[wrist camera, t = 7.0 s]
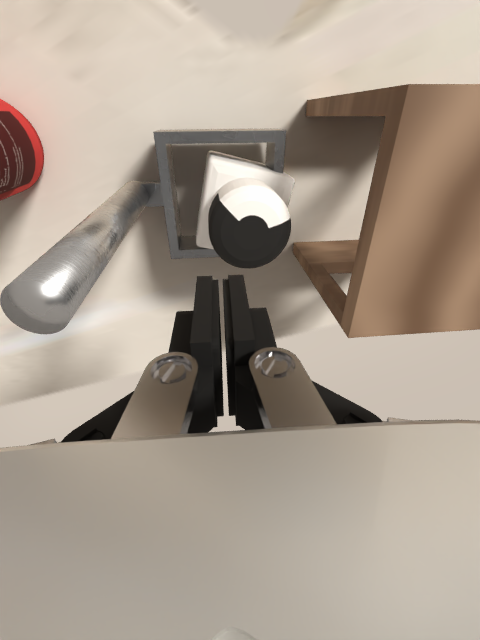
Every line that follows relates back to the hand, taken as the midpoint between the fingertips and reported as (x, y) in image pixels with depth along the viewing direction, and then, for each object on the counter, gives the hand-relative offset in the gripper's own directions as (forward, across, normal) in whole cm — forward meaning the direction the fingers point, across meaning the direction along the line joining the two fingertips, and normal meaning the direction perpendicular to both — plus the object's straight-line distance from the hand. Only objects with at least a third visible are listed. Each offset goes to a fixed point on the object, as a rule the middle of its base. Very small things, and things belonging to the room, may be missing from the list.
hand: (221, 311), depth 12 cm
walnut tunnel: (+24, -14, 0) cm, 27 cm away
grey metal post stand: (+22, +2, 0) cm, 22 cm away
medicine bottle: (+24, -2, +1) cm, 24 cm away
